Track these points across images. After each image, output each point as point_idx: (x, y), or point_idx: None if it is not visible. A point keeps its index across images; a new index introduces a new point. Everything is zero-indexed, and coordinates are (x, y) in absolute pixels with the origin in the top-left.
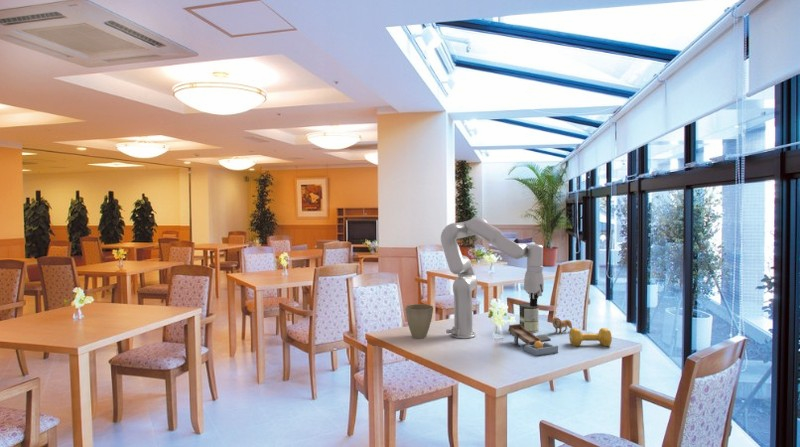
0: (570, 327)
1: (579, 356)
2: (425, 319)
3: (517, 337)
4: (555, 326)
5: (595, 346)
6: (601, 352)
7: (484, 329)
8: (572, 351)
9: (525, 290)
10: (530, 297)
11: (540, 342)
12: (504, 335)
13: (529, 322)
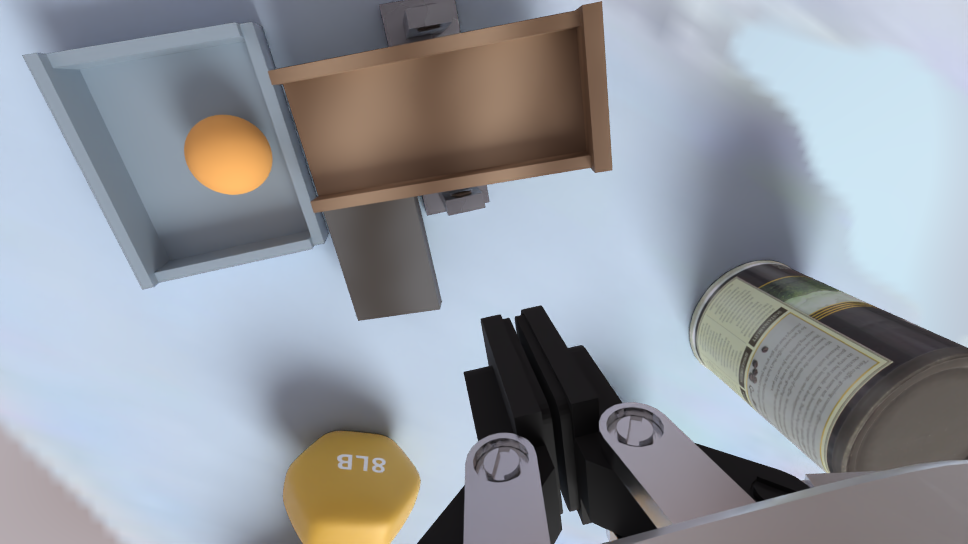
0: None
1: (67, 370)
2: None
3: (406, 22)
4: None
5: None
6: (167, 519)
7: (932, 5)
8: (203, 376)
9: (920, 471)
10: (605, 421)
11: (196, 167)
12: (720, 86)
13: (751, 333)
